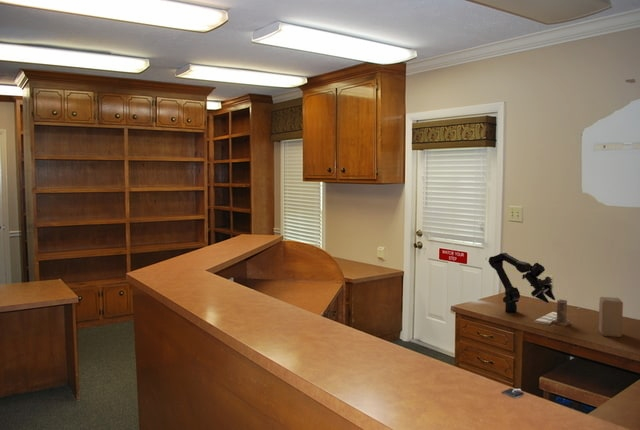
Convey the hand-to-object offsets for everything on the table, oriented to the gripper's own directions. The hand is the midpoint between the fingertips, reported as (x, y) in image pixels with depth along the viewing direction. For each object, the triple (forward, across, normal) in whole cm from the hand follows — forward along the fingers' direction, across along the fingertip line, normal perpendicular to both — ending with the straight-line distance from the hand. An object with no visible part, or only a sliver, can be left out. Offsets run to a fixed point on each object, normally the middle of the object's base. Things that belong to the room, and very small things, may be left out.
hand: (551, 301), depth 313 cm
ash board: (+7, +5, +11) cm, 14 cm away
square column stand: (+13, 0, +5) cm, 14 cm away
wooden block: (+33, -2, -14) cm, 36 cm away
